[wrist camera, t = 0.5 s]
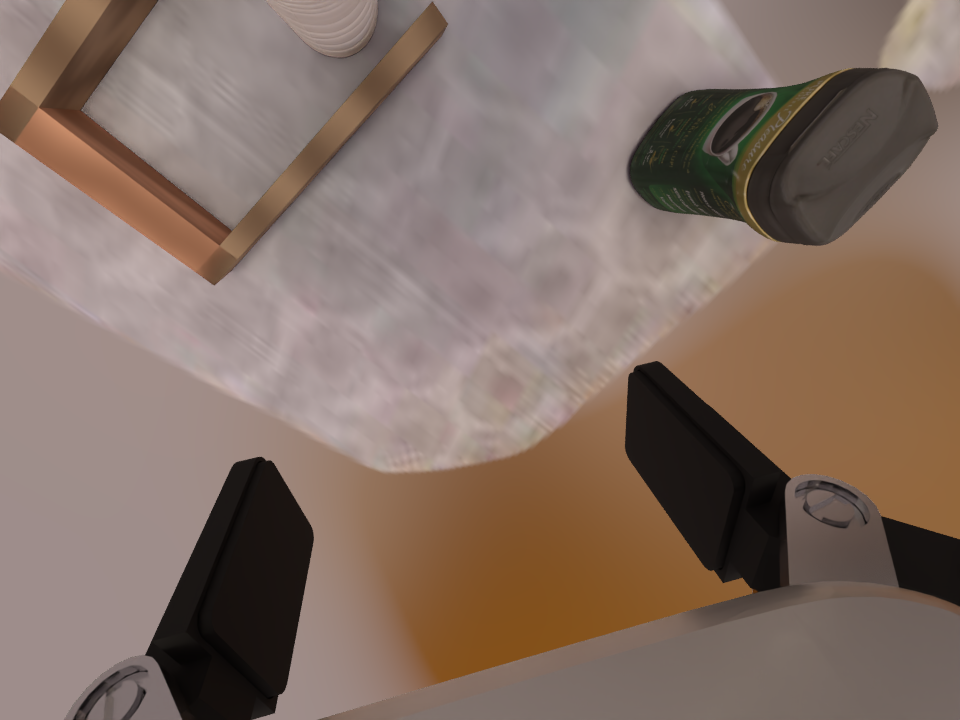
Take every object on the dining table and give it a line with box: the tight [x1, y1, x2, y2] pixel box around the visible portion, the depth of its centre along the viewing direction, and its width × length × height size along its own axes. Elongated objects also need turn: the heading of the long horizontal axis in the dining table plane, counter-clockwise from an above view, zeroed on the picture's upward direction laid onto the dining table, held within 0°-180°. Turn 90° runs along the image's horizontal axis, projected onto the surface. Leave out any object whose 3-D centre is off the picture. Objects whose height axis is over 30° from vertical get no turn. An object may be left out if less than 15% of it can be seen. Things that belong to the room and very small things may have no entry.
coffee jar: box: [630, 68, 938, 246], centre depth 31 cm, size 10×8×19 cm
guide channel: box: [0, 0, 448, 285], centre depth 28 cm, size 26×15×4 cm, turn 131°
